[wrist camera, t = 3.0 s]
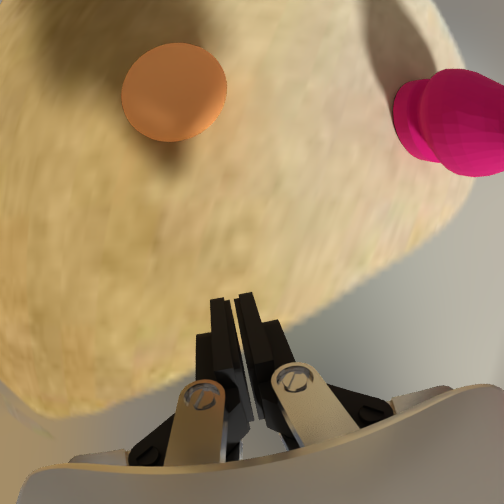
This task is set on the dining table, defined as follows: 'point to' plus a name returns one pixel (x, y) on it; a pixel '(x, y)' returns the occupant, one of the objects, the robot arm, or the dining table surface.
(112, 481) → the robot arm
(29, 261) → the dining table surface
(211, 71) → the ball
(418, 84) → the pepper mill
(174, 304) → the dining table surface
